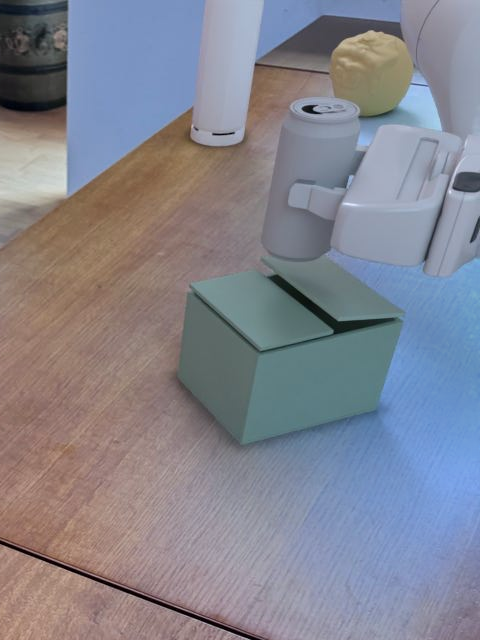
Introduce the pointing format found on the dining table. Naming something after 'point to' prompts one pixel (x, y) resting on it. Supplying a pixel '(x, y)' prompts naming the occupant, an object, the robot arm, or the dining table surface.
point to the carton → (278, 356)
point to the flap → (334, 289)
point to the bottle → (225, 70)
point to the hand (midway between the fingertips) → (300, 175)
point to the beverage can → (309, 174)
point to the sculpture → (371, 72)
